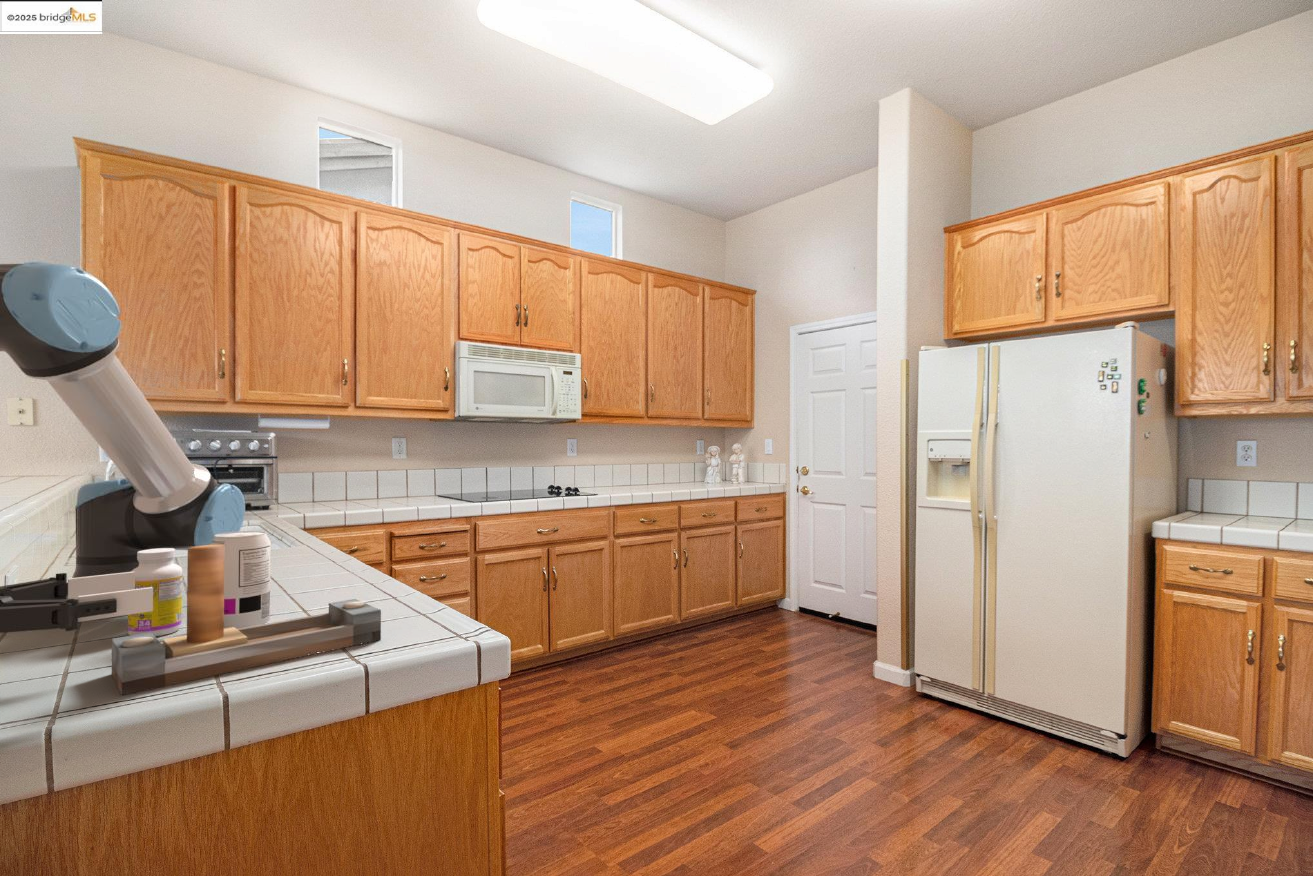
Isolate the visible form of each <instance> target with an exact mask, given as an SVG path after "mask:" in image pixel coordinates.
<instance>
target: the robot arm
mask: <svg viewBox="0 0 1313 876" xmlns="http://www.w3.org/2000/svg"><path fill="white" fill-rule="evenodd" d="M119 315H120V316H121V311H120V307H119V305H118V302H117V300H116V298H115V297H114V295H113V293H112V292H111V291H110V290H109V289H108V287H107V286H106V285H105V284H104V283H103V282H102V281H100V279H98V278H97V277H96V276H94V275H92V274H90V272H87V271H85V270H83V269H81V268H77V267H74V266H71V265H67V264H59V263H57V264H56V263H55V264H54V263H49V262H43V261H41V262H40V261H31V262H25V263H0V352H5V353H6V354H7V355H8V357H10V359H12V361H13V362H14V364H15V365H16V366H17V367H18V368H19V369H20V370H21V372H23V374H24V375H25V376H27V377H29V378H32V379H36V380H42V381H47V382H48V383H49V385H50V386H51V387H52V389H53V390H54V391H55V392H56V394H57V395H58V396H59V398H61V399H62V402H64V403H65V404H66V406H67V407H68V409H69V410H71V412H72V413H73V415H74V416H75V417H76V418H77V419H78V420H79V422H80V423H81V424H82V426H83V427H84V428H85V429H86V431H87V432H88V433H89V434H90V435H91V437H92V438H93V439H94V441H95V442H96V443H97V444H98V445H99V447H100V449H102V450H103V452H104V453H105V454H106V455H107V457H108V458H109V459H110V460H111V462H112V463H113V464H114V465H115V466H116V467H117V469H118V470H119V472H120V473H121V474H122V475H123V477H125V478H119V479H110V480H109V479H108V480H102V481H100V480H99V481H94V482H89V483H86V484H83V485H82V486H80V488H79V489H78V492H77V498H76V505H75V508H74V510H75V570H74V573H73V574H72V576H71V577H69V578H68V576H67V575H68V573H66V572H59V573H55V576H53V577H49V578H44V579H39V580H32V581H26V582H19V583H13V584H6V585H1V586H0V634H3V633H4V634H5V633H16V632H17V633H19V632H29V631H43V630H46V631H47V630H59V629H60V630H65V632H70V631H76V630H78V628H79V626H78V625H79V623H81V622H87V621H94V620H100V619H107V618H114V617H115V618H116V617H121V616H123V617H124V616H128V615H129V614H136V613H143V612H150V611H153V587H148V588H140V589H135V572H131V571H132V570H133V569H135V568H137V567H138V566H139V562H138V560H137V552H138V551H142V550H148V549H157V548H173V549H175V551H188V548H190V547H195V546H203V545H210V544H211V543H212V541H213V539H214V536H215V535H217V534H222V533H229V532H241V528H242V526H243V524H244V520H245V513H246V500H245V498H244V494H243V493H242V491H241V489H240V488H239V487H237V486H236V485H234V484H230V483H222V484H219V483H218V482H216V479H215V478H214V476H212V474H211V472H210V471H209V470H208V469H207V468H206V467H205V466H203V465H202V464H196V463H191V461H190V460H189V458H188V457H187V456H186V454H185V453H184V451H183V450H182V448H181V447H180V446H179V444H178V442H177V441H176V440H175V438H174V437H173V435H172V434H171V433H170V431H169V430H168V428H167V427H166V425H165V424H164V422H162V420H161V418H160V416H159V415H158V413H156V411H155V409H153V407H152V405H151V404H150V403H149V401H148V400H147V398H146V397H145V395H144V394H143V392H142V391H141V390H140V388H139V387H138V386H137V384H136V382H135V381H134V380H133V379H132V377H131V375H130V374H129V372H128V371H127V370H126V368H125V366H123V364H122V363H121V361H120V360H119V359H118V357H117V356H116V352H118V351H117V350H118V348H119V346H120V339H119V338H118V336H119V334H120V331H121V328H122V321H121V320H120V319H119V317H118V316H119Z"/></svg>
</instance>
